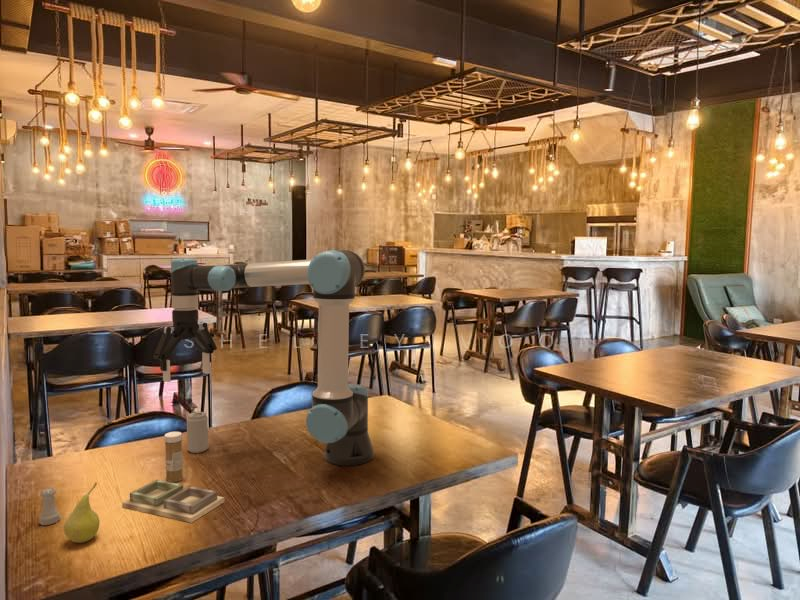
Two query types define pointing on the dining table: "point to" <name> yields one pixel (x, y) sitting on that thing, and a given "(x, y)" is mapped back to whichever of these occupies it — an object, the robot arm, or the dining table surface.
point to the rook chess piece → (48, 507)
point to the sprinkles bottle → (173, 456)
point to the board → (173, 500)
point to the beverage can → (197, 432)
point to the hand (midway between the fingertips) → (187, 377)
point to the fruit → (82, 521)
